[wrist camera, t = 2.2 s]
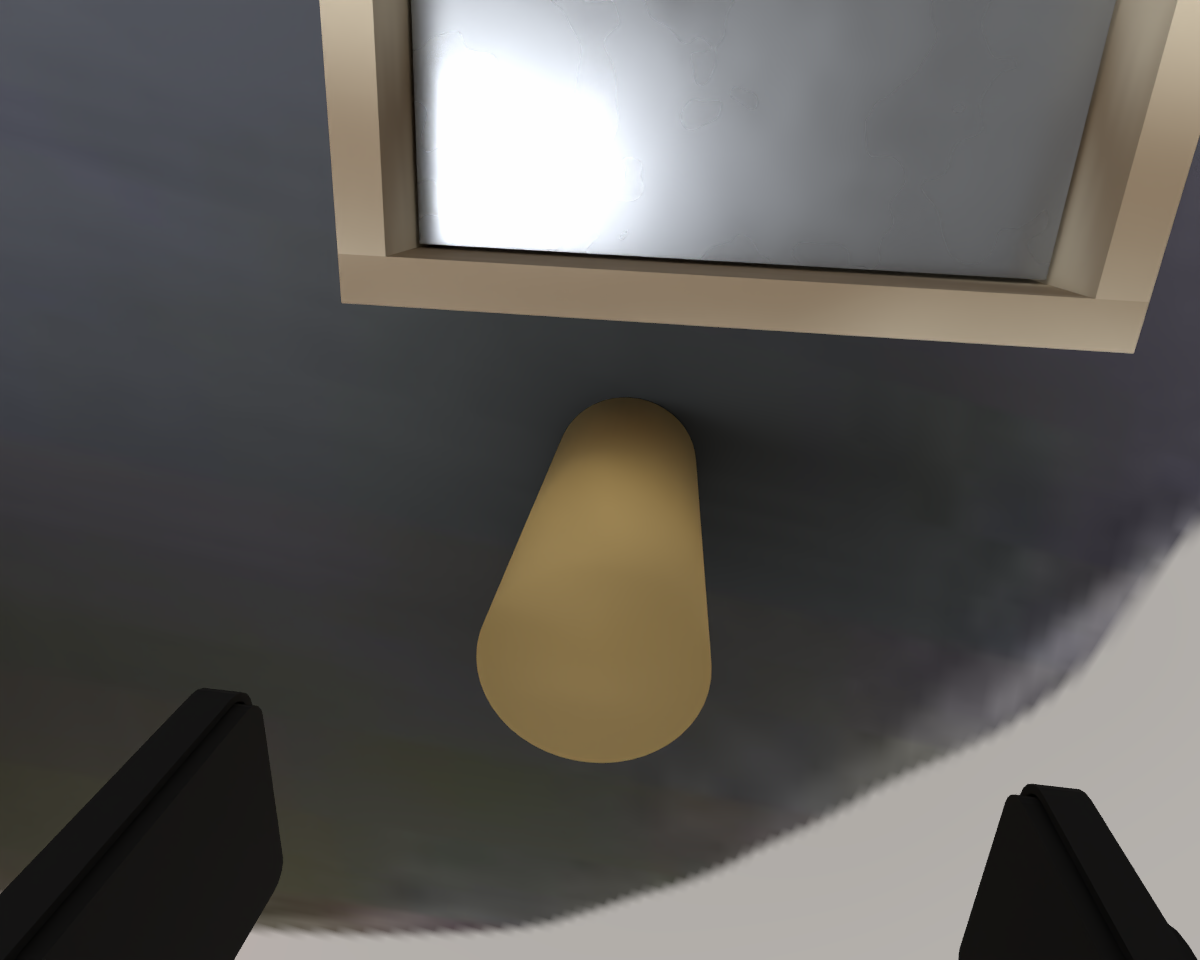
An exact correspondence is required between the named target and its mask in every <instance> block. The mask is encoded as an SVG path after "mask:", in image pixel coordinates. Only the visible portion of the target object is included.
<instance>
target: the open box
mask: <svg viewBox="0 0 1200 960" xmlns="http://www.w3.org/2000/svg"><path fill="white" fill-rule="evenodd" d="M319 1H320V14H321V28H322V42H323V56H324V69H325V83H326V97H327V111H328V124H329V138H330V152H331V165H332V179H333V193H334V207H335V220H336V234H337V248H338V262H339V275H340V289H341V303H349V304H365V305H380V306H396V307H412V308H428V309H443V310H459V311H475V312H490V313H506V314H522V315H537V316H553V317H569V318H584V319H600V320H616V321H631V322H647V323H663V324H679V325H694V326H710V327H726V328H741V329H757V330H773V331H788V332H804V333H820V334H835V335H851V336H867V337H883V338H898V339H914V340H930V341H945V342H961V343H977V344H992V345H1008V346H1024V347H1039V348H1055V349H1071V350H1086V351H1102V352H1118V353H1134V351H1135V348H1136V344H1137V341H1138V338H1139V334H1140V331H1141V328H1142V324H1143V321H1144V318H1145V315H1146V311H1147V308H1148V305H1149V301H1150V298H1151V295H1152V291H1153V288H1154V285H1155V281H1156V278H1157V275H1158V271H1159V268H1160V265H1161V261H1162V258H1163V255H1164V252H1165V248H1166V245H1167V242H1168V238H1169V235H1170V232H1171V228H1172V225H1173V222H1174V218H1175V215H1176V212H1177V208H1178V205H1179V202H1180V198H1181V195H1182V192H1183V189H1184V185H1185V182H1186V179H1187V175H1188V172H1189V169H1190V165H1191V162H1192V159H1193V155H1194V152H1195V149H1196V145H1197V142H1198V139H1199V135H1200V0H1116V3H1115V6H1114V10H1113V14H1112V18H1111V22H1110V26H1109V30H1108V34H1107V38H1106V42H1105V46H1104V50H1103V54H1102V58H1101V62H1100V66H1099V70H1098V74H1097V78H1096V82H1095V86H1094V90H1093V94H1092V98H1091V102H1090V106H1089V110H1088V114H1087V118H1086V122H1085V126H1084V130H1083V134H1082V138H1081V142H1080V146H1079V150H1078V154H1077V158H1076V162H1075V166H1074V170H1073V174H1072V178H1071V182H1070V186H1069V190H1068V194H1067V198H1066V202H1065V206H1064V210H1063V214H1062V218H1061V222H1060V226H1059V230H1058V234H1057V238H1056V242H1055V245H1054V249H1053V253H1052V257H1051V261H1050V265H1049V269H1048V273H1047V277H1046V280H1037V279H1020V278H1003V277H986V276H968V275H951V274H934V273H917V272H900V271H883V270H865V269H848V268H831V267H814V266H797V265H780V264H763V263H745V262H728V261H711V260H694V259H677V258H660V257H643V256H625V255H608V254H591V253H574V252H557V251H540V250H523V249H505V248H488V247H471V246H454V245H437V244H420V239H419V211H418V182H417V154H416V126H415V98H414V70H413V42H412V14H411V0H319Z"/></svg>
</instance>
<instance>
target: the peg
mask: <svg viewBox="0 0 1200 960" xmlns="http://www.w3.org/2000/svg"><path fill="white" fill-rule="evenodd" d="M476 659H477V670H478V675H479V679H480V683H481V686H482V688H483V691H484V693H485V696H486V697H487V699H488V701H489V703H490V704H491V706H492V708H493V709H494V711H495V712H496V713H497V715H498V716H499V717H500V718H501V719H502V721H503V722H504V723H505V724H506V725H507V726H508V727H509V728H510V729H511V730H513V731H514V732H515V733H516V734H518V735H519V736H520V737H521V738H523V739H524V740H526V741H528V742H529V743H531V744H532V745H534V746H536V747H538V748H540V749H542V750H544V751H546V752H549V753H551V754H554V755H557V756H559V757H563V758H567V759H571V760H576V761H582V762H592V763H611V762H621V761H627V760H632V759H635V758H639V757H642V756H645V755H648V754H650V753H653V752H655V751H657V750H659V749H661V748H663V747H664V746H666V745H668V744H670V743H671V742H672V741H674V740H675V739H676V738H678V737H679V736H680V735H681V734H682V733H683V732H684V731H685V730H686V729H687V728H688V727H689V726H690V725H691V724H692V723H693V721H694V720H695V719H696V717H697V716H698V714H699V712H700V711H701V709H702V707H703V705H704V703H705V700H706V698H707V695H708V692H709V687H710V682H711V668H712V665H711V652H710V639H709V625H708V612H707V599H706V586H705V572H704V559H703V546H702V533H701V519H700V506H699V493H698V480H697V467H696V456H695V450H694V446H693V443H692V441H691V438H690V436H689V434H688V433H687V431H686V429H685V428H684V426H683V425H682V424H681V423H680V421H679V420H678V419H677V418H676V417H675V416H674V415H672V414H671V413H670V412H668V411H667V410H666V409H664V408H662V407H661V406H659V405H657V404H654V403H652V402H649V401H646V400H642V399H637V398H613V399H608V400H604V401H601V402H599V403H596V404H594V405H592V406H590V407H589V408H587V409H585V410H584V411H583V412H581V413H580V414H579V415H578V416H577V417H576V418H575V419H574V420H573V421H572V422H571V423H570V425H569V426H568V427H567V429H566V431H565V433H564V434H563V437H562V439H561V441H560V444H559V446H558V448H557V451H556V453H555V455H554V458H553V460H552V463H551V465H550V467H549V470H548V472H547V474H546V477H545V479H544V481H543V484H542V486H541V488H540V491H539V493H538V496H537V498H536V500H535V503H534V505H533V507H532V510H531V512H530V514H529V517H528V519H527V522H526V524H525V526H524V529H523V531H522V533H521V536H520V538H519V540H518V543H517V545H516V547H515V550H514V552H513V555H512V557H511V559H510V562H509V564H508V566H507V569H506V571H505V573H504V576H503V578H502V581H501V583H500V585H499V588H498V590H497V592H496V595H495V597H494V599H493V602H492V604H491V606H490V609H489V611H488V614H487V616H486V618H485V621H484V623H483V626H482V628H481V631H480V634H479V639H478V643H477V656H476Z"/></svg>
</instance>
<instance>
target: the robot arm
mask: <svg viewBox="0 0 1200 960" xmlns="http://www.w3.org/2000/svg"><path fill="white" fill-rule="evenodd" d="M282 864H283V856H282V849H281V841H280V834H279V827H278V820H277V813H276V806H275V799H274V792H273V785H272V778H271V771H270V763H269V756H268V749H267V742H266V735H265V728H264V721H263V715H262V711H261V709H260V708H259V707H258V706H253V705H252V702H251V699H250V697H249V696H248V695H247V694H245V693H242V692H234V691H225V690H216V689H208V688H202V689H198V690H197V691H195V692H194V693H193V694H192V695H190V697H189V698H188V699H187V700H186V701H185V702H184V703H183V704H182V705H181V706H180V707H179V708H178V709H177V710H176V711H175V712H174V713H173V714H172V715H171V716H170V717H169V718H168V720H167V721H166V722H165V723H164V724H163V725H162V726H161V727H160V728H159V729H158V730H157V731H156V732H155V733H154V734H153V735H152V736H151V737H150V738H149V739H148V740H147V741H146V742H145V744H144V745H143V746H142V747H141V748H140V749H139V750H138V751H137V752H136V753H135V754H134V755H133V756H132V757H131V758H130V759H129V760H128V761H127V762H126V763H125V764H124V765H123V767H122V768H121V769H120V770H119V771H118V772H117V773H116V774H115V775H114V776H113V777H112V778H111V779H110V780H109V781H108V782H107V783H106V784H105V785H104V786H103V787H102V788H101V789H100V791H99V792H98V793H97V794H96V795H95V796H94V797H93V798H92V799H91V800H90V801H89V802H88V803H87V804H86V805H85V806H84V807H83V808H82V809H81V810H80V811H79V812H78V814H77V815H76V816H75V817H74V818H73V819H72V820H71V821H70V822H69V823H68V824H67V825H66V826H65V827H64V828H63V829H62V830H61V831H60V832H59V833H58V834H57V835H56V836H55V838H54V839H53V840H52V841H51V842H50V843H49V844H48V845H47V846H46V847H45V848H44V849H43V850H42V851H41V852H40V853H39V854H38V855H37V856H36V857H35V858H34V859H33V861H32V862H31V863H30V864H29V865H28V866H27V867H26V868H25V869H24V870H23V871H22V872H21V873H20V874H19V875H18V876H17V877H16V878H15V879H14V880H13V881H12V882H11V884H10V885H9V886H8V887H7V888H6V889H5V890H4V891H3V892H2V893H1V894H0V960H234V959H235V957H236V955H237V954H238V952H239V950H240V949H241V947H242V945H243V943H244V942H245V940H246V938H247V937H248V935H249V933H250V931H251V930H252V928H253V926H254V925H255V923H256V921H257V919H258V918H259V916H260V914H261V913H262V911H263V909H264V907H265V906H266V904H267V902H268V901H269V899H270V897H271V896H272V894H273V892H274V890H275V888H276V886H277V884H278V881H279V878H280V875H281V871H282ZM959 960H1197V958H1196V957H1195V955H1194V953H1193V952H1192V950H1191V949H1190V947H1189V945H1188V944H1187V943H1186V942H1185V940H1184V939H1183V938H1182V936H1181V935H1180V934H1179V933H1178V932H1177V930H1175V929H1174V928H1173V927H1171V926H1170V925H1169V924H1168V923H1167V922H1166V920H1165V918H1164V917H1163V915H1162V913H1161V912H1160V910H1159V909H1158V907H1157V905H1156V904H1155V902H1154V901H1153V899H1152V897H1151V896H1150V894H1149V893H1148V891H1147V889H1146V888H1145V886H1144V884H1143V883H1142V881H1141V880H1140V878H1139V876H1138V875H1137V873H1136V872H1135V870H1134V868H1133V867H1132V865H1131V864H1130V862H1129V860H1128V859H1127V857H1126V856H1125V854H1124V852H1123V851H1122V849H1121V847H1120V846H1119V844H1118V843H1117V841H1116V839H1115V838H1114V836H1113V835H1112V833H1111V831H1110V830H1109V828H1108V826H1107V825H1106V823H1105V822H1104V820H1103V818H1102V817H1101V815H1100V814H1099V812H1098V810H1097V809H1096V807H1095V806H1094V804H1093V802H1092V801H1091V799H1090V798H1089V797H1088V796H1087V794H1086V793H1085V792H1083V791H1081V790H1079V789H1072V788H1063V787H1054V786H1045V785H1037V784H1027V785H1026V786H1025V787H1024V788H1023V790H1022V792H1021V794H1020V795H1010V796H1009V797H1008V798H1007V800H1006V802H1005V805H1004V808H1003V812H1002V815H1001V818H1000V821H999V824H998V828H997V832H996V834H995V837H994V841H993V844H992V847H991V850H990V853H989V857H988V860H987V863H986V866H985V870H984V872H983V876H982V879H981V882H980V885H979V888H978V892H977V895H976V898H975V901H974V905H973V908H972V911H971V914H970V918H969V921H968V924H967V927H966V930H965V933H964V937H963V940H962V943H961V946H960V950H959Z"/></svg>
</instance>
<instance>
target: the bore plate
mask: <svg viewBox="0 0 1200 960" xmlns="http://www.w3.org/2000/svg"><path fill="white" fill-rule="evenodd" d="M1115 3H1116V0H411V14H412V42H413V70H414V98H415V126H416V154H417V182H418V211H419V239H420V244H437V245H454V246H471V247H488V248H505V249H523V250H540V251H557V252H574V253H591V254H608V255H625V256H643V257H660V258H677V259H694V260H711V261H728V262H745V263H763V264H780V265H797V266H814V267H831V268H848V269H865V270H883V271H900V272H917V273H934V274H951V275H968V276H986V277H1003V278H1020V279H1037V280H1046V277H1047V273H1048V269H1049V265H1050V261H1051V257H1052V253H1053V249H1054V245H1055V242H1056V238H1057V234H1058V230H1059V226H1060V222H1061V218H1062V214H1063V210H1064V206H1065V202H1066V198H1067V194H1068V190H1069V186H1070V182H1071V178H1072V174H1073V170H1074V166H1075V162H1076V158H1077V154H1078V150H1079V146H1080V142H1081V138H1082V134H1083V130H1084V126H1085V122H1086V118H1087V114H1088V110H1089V106H1090V102H1091V98H1092V94H1093V90H1094V86H1095V82H1096V78H1097V74H1098V70H1099V66H1100V62H1101V58H1102V54H1103V50H1104V46H1105V42H1106V38H1107V34H1108V30H1109V26H1110V22H1111V18H1112V14H1113V10H1114V6H1115Z"/></svg>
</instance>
